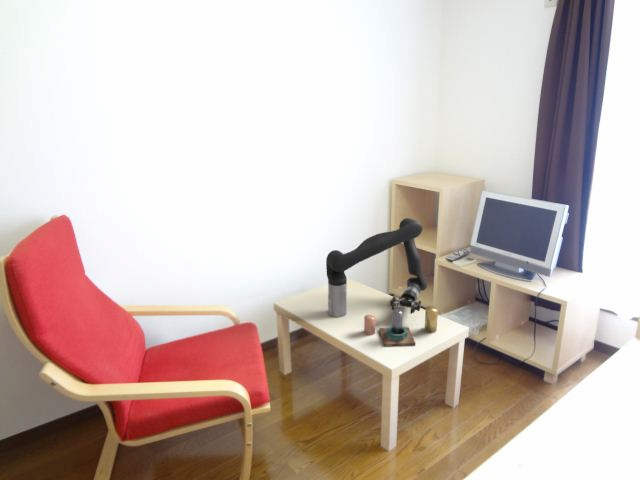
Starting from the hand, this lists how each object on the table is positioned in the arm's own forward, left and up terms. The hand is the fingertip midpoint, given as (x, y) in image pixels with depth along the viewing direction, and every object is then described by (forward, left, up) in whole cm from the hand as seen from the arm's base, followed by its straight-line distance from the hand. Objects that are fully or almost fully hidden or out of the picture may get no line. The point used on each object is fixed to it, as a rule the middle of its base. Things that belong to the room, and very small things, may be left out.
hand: (402, 310), depth 211 cm
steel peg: (-4, -8, -8) cm, 12 cm away
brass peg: (+14, -2, -10) cm, 17 cm away
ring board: (-4, -8, -10) cm, 13 cm away
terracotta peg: (-16, -3, -10) cm, 19 cm away
